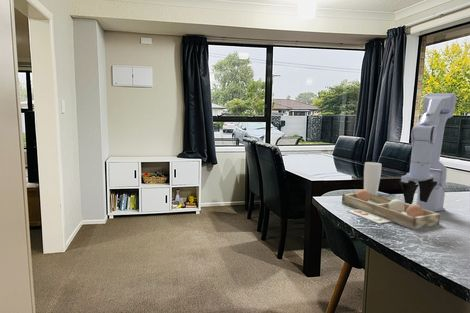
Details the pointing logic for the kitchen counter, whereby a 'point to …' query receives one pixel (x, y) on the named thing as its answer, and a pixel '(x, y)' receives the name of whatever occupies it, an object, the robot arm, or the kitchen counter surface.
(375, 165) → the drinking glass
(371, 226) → the kitchen counter surface
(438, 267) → the kitchen counter surface
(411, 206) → the terracotta ball
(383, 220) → the card
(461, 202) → the kitchen counter surface
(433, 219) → the two-well rack
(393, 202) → the cream ball
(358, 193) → the ball
